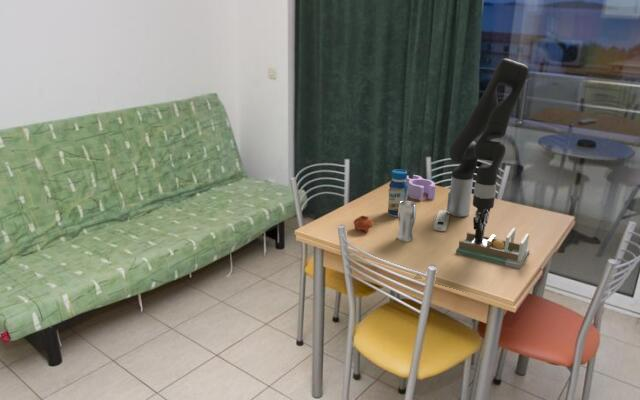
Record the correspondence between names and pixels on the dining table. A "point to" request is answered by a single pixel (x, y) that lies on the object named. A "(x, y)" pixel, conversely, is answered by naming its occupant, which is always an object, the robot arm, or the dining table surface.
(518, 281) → the dining table surface
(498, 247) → the ball
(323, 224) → the dining table surface
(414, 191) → the clip
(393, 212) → the beverage bottle
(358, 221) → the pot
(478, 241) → the slider
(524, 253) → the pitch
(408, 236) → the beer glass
